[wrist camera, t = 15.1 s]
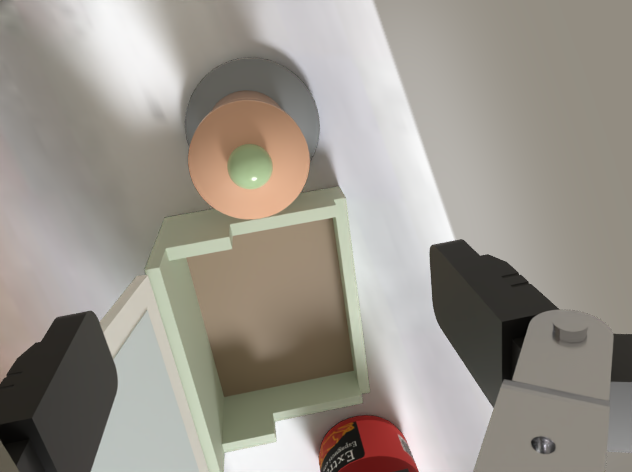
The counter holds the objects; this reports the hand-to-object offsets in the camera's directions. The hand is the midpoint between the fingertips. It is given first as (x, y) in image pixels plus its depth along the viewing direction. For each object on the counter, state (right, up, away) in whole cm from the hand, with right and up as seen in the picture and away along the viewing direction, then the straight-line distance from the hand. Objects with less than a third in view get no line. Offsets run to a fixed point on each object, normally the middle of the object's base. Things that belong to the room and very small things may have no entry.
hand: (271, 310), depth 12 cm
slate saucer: (-3, +9, +21) cm, 23 cm away
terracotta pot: (-3, +8, +20) cm, 22 cm away
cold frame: (-2, -3, +26) cm, 26 cm away
